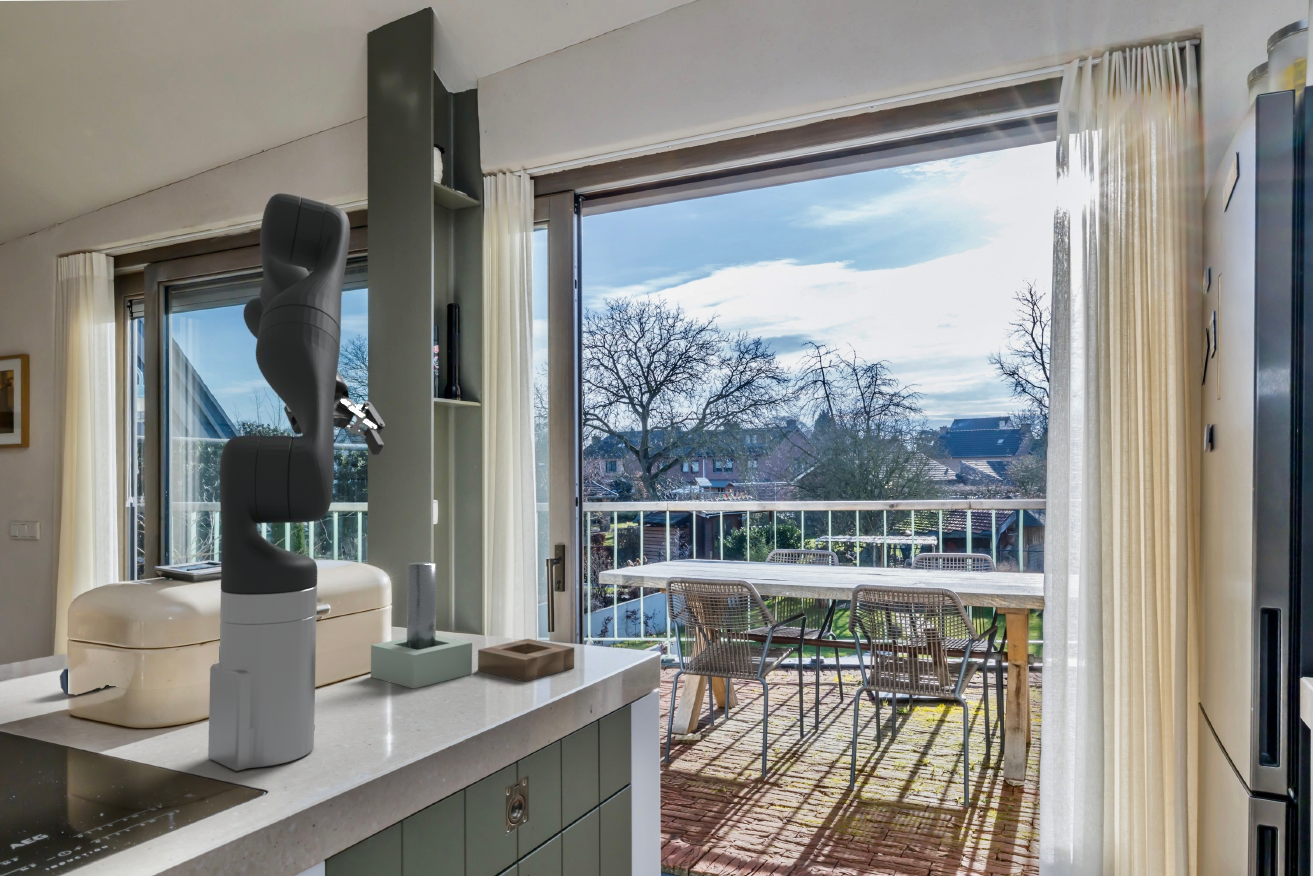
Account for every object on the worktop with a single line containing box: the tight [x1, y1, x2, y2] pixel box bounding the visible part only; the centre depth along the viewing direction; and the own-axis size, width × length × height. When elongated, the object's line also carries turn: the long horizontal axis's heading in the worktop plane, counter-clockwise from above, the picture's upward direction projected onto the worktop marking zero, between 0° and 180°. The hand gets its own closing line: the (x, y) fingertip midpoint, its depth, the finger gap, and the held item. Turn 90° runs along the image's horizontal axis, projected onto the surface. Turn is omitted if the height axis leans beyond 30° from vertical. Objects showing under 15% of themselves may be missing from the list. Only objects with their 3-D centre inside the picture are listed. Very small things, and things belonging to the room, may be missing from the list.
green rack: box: [370, 634, 473, 689], centre depth 119 cm, size 10×10×4 cm
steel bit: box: [406, 561, 438, 650], centre depth 119 cm, size 4×4×16 cm
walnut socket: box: [477, 638, 575, 682], centre depth 123 cm, size 10×10×3 cm
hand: (353, 450), depth 125 cm, fingers open, 8 cm apart
